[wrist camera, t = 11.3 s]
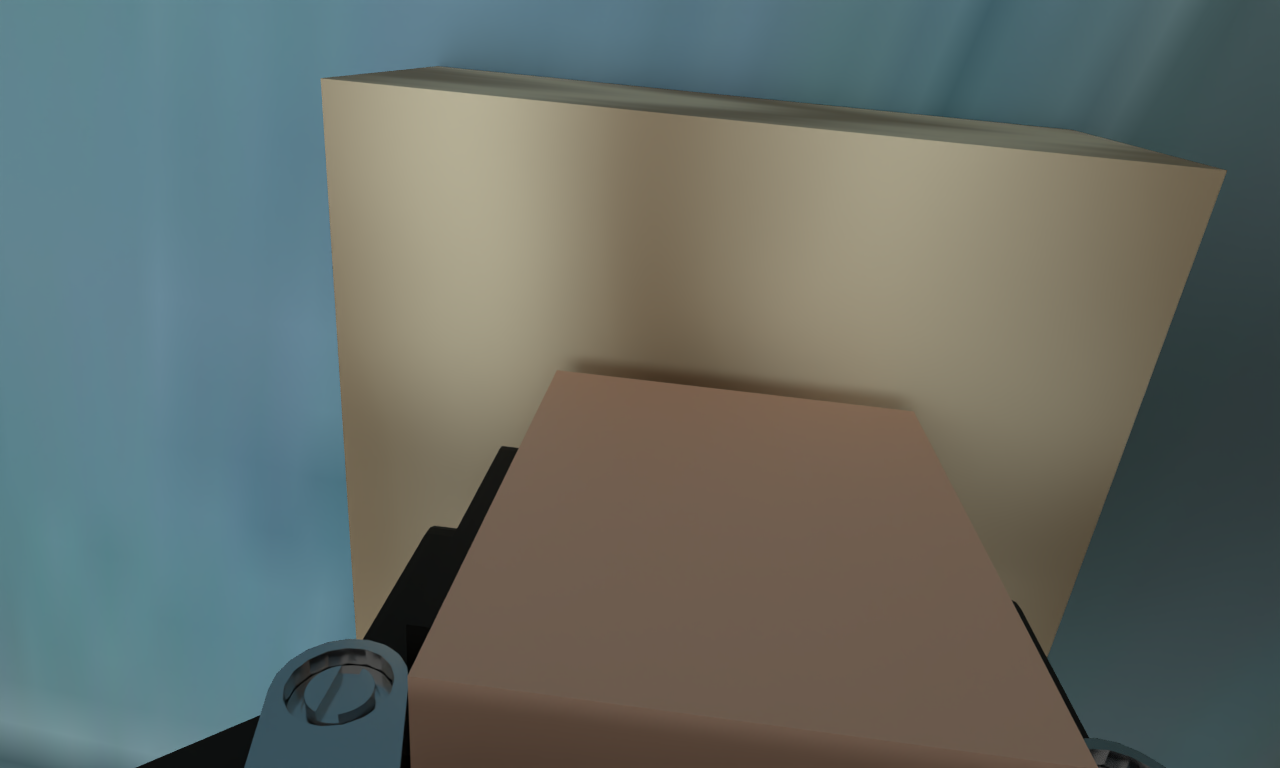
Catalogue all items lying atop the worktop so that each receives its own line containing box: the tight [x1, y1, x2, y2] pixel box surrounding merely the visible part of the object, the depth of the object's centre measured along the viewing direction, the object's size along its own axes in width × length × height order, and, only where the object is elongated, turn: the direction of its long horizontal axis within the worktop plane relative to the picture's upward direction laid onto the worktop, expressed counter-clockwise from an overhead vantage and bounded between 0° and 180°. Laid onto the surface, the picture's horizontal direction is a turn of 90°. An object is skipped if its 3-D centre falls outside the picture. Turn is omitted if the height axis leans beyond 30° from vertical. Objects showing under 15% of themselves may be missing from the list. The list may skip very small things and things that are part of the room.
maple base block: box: [321, 66, 1227, 657], centre depth 15 cm, size 12×12×5 cm
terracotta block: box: [408, 370, 1098, 768], centre depth 10 cm, size 5×5×6 cm
